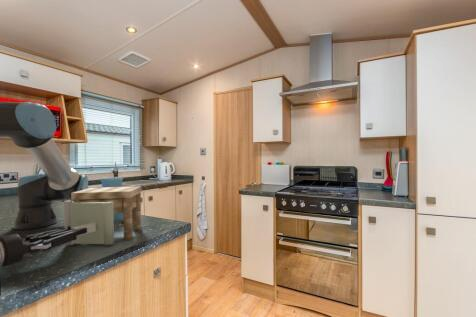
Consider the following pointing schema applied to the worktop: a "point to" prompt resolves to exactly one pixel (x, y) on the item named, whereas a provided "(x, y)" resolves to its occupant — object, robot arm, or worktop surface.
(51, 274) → the worktop surface
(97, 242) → the pale green flat panel
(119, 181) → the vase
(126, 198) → the stool
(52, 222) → the robot arm
